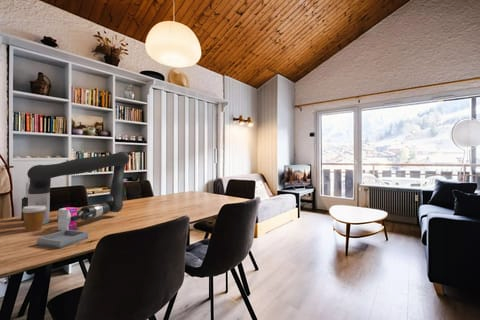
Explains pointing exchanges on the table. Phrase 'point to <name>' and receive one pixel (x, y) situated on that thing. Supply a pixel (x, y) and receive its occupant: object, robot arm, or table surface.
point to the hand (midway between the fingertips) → (64, 218)
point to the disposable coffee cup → (33, 217)
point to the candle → (25, 198)
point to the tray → (62, 238)
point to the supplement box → (67, 219)
